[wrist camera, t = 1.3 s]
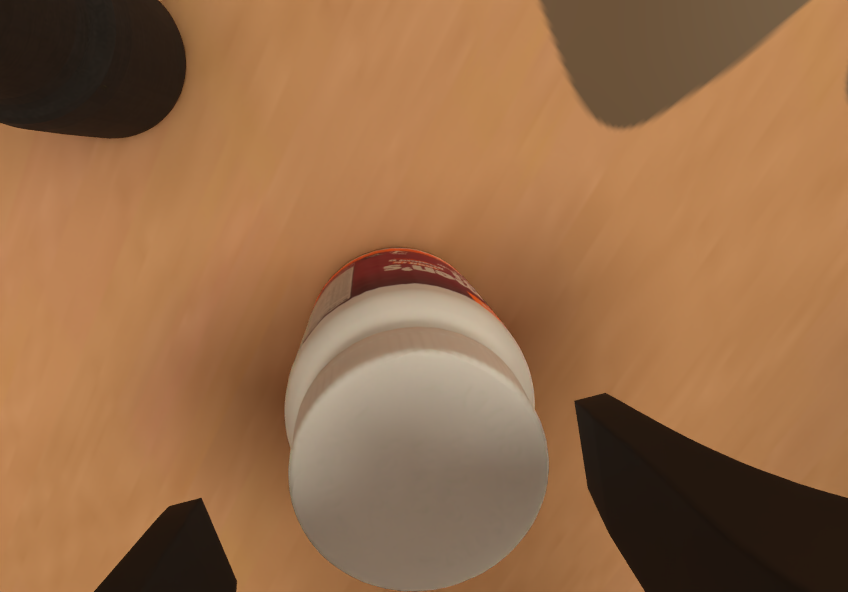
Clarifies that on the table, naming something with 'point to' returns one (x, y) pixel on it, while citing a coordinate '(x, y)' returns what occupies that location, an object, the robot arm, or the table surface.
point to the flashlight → (88, 66)
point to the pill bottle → (411, 426)
